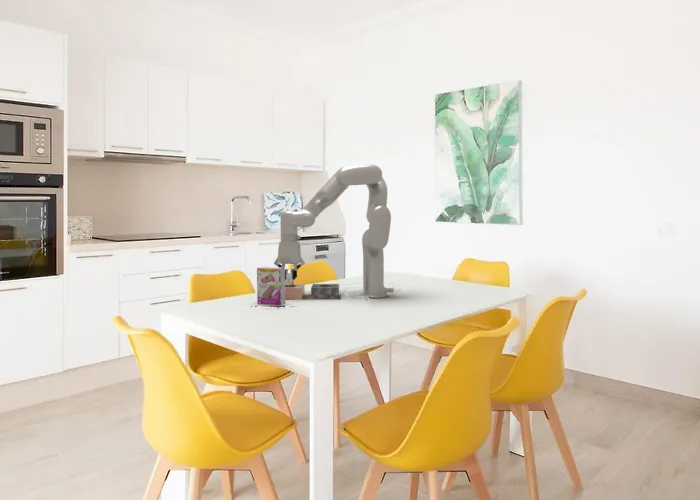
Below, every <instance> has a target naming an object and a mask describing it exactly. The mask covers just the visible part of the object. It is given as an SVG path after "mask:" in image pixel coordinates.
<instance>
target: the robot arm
mask: <svg viewBox="0 0 700 500" xmlns="http://www.w3.org/2000/svg"><path fill="white" fill-rule="evenodd" d="M363 185H366V187H367V188H368V189H367V190H368V202H367V209H366V220H367V222H368V223H369V225H368V228H367V229H366V230H365V231H364V232H363V234H362V237H361V238H362V239H361V244H362V245H361V246H362V257H363V258H362V274H363V275H362V280H363V282H362V286H363V287H362V288H363V290H362V292H360V293H359V295H360V296H364V297H369V299H381V298H386V297H387V296H388V293H394V291H395V289H394V288H393V287H385V282H384V279H385V271H384V269H385V267H384V266H385V265H384V264H385V259H384V256H385V255H384V254H385V253H384V248H386V247H387V245H388V243H389V238H390V231H391V222H392V214H391V210H390V209H389V208H388V207H387V204H388V185H387V183H386V181H385V179H384V177H383V172H382V169H381V168H380V166H378V165H376V164H366V165H365V164H364V165H363V164H362V165H351V166H350V165H347V166H343V167H340V168H339V169H337V171H336V172H334V174H333V175H332V176H331V177H330V178H329V179H328V180H327V182H325V183H324V185H323V186H322V187H320V189H319V190H318V191H317V192H316V193H315V195H313V197H312V198H311V199H310V200H309V202H307V203H306V205H304V207H303V208H301V210H300V211H295V210H283V211H281V212H280V241H279V242H278V249H277V258H276V259H275V260H274V263H273V264H274V265H275V266H276V267H279V268H285V269H286V265H293V267H294V268H293V269H294V271H293V279H294V280H296V278H298V270H299V269H300V268H301V267H302V266H304V265H305V263H306V262H305V261H304V259H303V258H302V254H301V253H302V251H301V244H300V241H298V240H301V239H302V237H301V236H300V235H298V227H301V228H310V227H312V226H313V225H314V224H315V222H316V219H317V217H318V216H320V215H321V213H322V212H323V211H324V210H325V209H327V208H329V206H331V205H333V203H335V202H336V201H337V200H338V199H339V197H340V196H341V195H342V194H343V193H344V192H345V191H346V190H347V189H349V187H350V186H363Z"/></svg>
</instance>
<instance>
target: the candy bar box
mask: <svg viewBox="0 0 700 500" xmlns="http://www.w3.org/2000/svg"><path fill="white" fill-rule="evenodd" d="M285 269H286V267H285V268H279V267H278V266H276V267H273V266H259V267H257V268H256V281H257V282H256V287H257V288H256V289H257V290H256V291H257V292H256V293H257V305H266V306H267V307H269V308H282V307H283V308H284V305H285V304H286V300H285Z"/></svg>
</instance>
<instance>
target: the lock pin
mask: <svg viewBox="0 0 700 500" xmlns="http://www.w3.org/2000/svg"><path fill="white" fill-rule="evenodd" d="M293 271H294V268H285V287H294V284H295V279H293Z"/></svg>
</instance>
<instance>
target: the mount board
mask: <svg viewBox="0 0 700 500" xmlns="http://www.w3.org/2000/svg"><path fill="white" fill-rule="evenodd" d="M341 299H342V294H341V293H340V284H339V283H313V284H312V285H311V287H310V294H309V293H308V294H305V295H304V297H303V299H285V301H289V300H290V301H295V300H296V301H298V300H299V301H303V300H305V301H307V300H308V301H314V300H315V301H316V300H317V301H318V300H320V301H321V300H322V301H323V300H324V301H325V300H327V301H328V300H330V301H332V300H336V301H338V300H339V301H340V300H341Z"/></svg>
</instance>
